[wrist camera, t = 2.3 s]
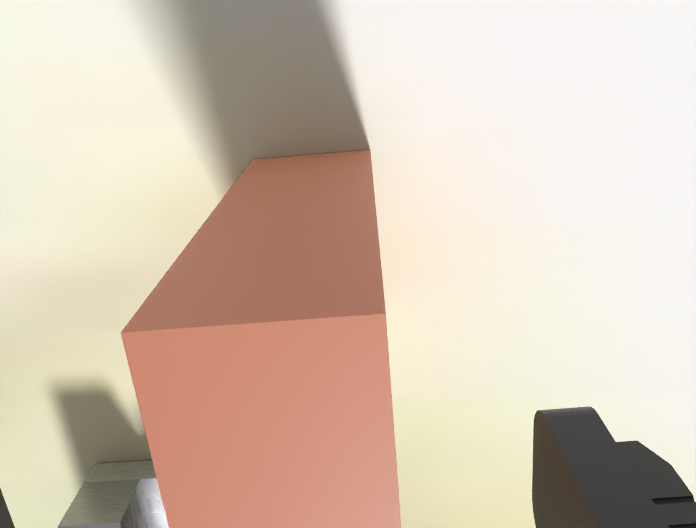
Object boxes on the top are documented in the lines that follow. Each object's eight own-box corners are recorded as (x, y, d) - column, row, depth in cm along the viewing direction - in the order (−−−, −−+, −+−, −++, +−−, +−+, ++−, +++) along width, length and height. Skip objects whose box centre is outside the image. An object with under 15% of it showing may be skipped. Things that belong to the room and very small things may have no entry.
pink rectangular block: (370, 149, 18) (385, 313, 8) (381, 303, 20) (406, 597, 10) (252, 159, 18) (120, 332, 8) (274, 311, 20) (189, 608, 10)
